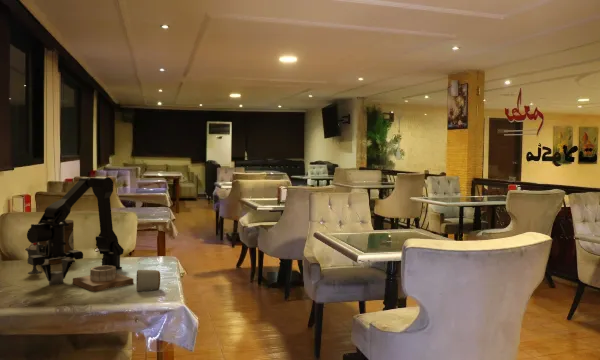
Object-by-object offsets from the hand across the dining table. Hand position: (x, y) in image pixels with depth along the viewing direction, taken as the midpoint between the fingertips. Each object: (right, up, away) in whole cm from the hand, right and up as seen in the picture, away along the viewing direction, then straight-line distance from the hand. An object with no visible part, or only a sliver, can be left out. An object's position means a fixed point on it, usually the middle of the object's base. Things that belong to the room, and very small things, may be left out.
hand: (56, 279), depth 198 cm
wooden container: (-18, +1, +38) cm, 43 cm away
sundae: (-16, 0, +15) cm, 22 cm away
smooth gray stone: (0, -1, 0) cm, 1 cm away
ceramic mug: (+36, -3, -6) cm, 37 cm away
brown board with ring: (+18, -2, 0) cm, 18 cm away
